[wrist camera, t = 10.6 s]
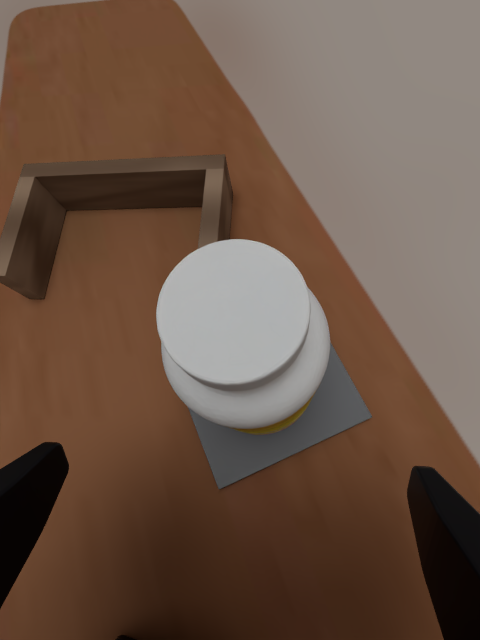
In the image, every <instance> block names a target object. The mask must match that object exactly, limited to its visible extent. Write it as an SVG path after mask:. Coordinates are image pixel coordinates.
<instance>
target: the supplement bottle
mask: <svg viewBox="0 0 480 640" xmlns="http://www.w3.org/2000/svg"><path fill="white" fill-rule="evenodd" d="M156 319H157V328H158V333H159V336H160V339H161V341H162V343H161V350H162V360H163V365H164V369H165V372H166V375H167V377H168V380H169V382H170V384H171V386H172V388H173V389H174V391H175V392H176V394H177V395H178V396H179V398H180V399H181V400H182V401H183V402H184V403H185V404H186V405H187V406H188V407H189V408H190V409H191V410H193V411H194V412H195V413H197V414H198V415H200V416H201V417H203V418H205V419H207V420H209V421H211V422H214V423H216V424H219V425H222V426H225V427H229V428H232V429H235V430H238V431H240V432H244V433H248V434H254V435H266V434H272V433H276V432H279V431H281V430H283V429H286V428H287V427H289V426H290V425H292V424H293V423H294V422H295V421H297V420H298V419H299V418H300V416H301V415H302V414H303V413H304V411H305V410H306V408H307V407H308V405H309V403H310V401H311V399H312V397H313V395H314V394H315V392H316V390H317V388H318V387H319V385H320V383H321V381H322V379H323V376H324V374H325V371H326V369H327V364H328V360H329V354H330V334H329V328H328V323H327V319H326V317H325V314H324V312H323V309H322V307H321V305H320V304H319V302H318V300H317V299H316V297H315V296H314V294H313V293H312V292H311V291H310V289H309V288H308V287H307V286H306V283H305V280H304V278H303V277H302V275H301V273H300V272H299V270H298V269H297V268H296V266H295V265H294V264H293V263H292V261H290V260H289V259H288V258H287V257H286V256H285V255H284V254H282V253H281V252H279V251H278V250H276V249H274V248H272V247H270V246H268V245H266V244H263V243H260V242H256V241H251V240H243V239H230V240H223V241H218V242H214V243H211V244H208V245H206V246H203V247H201V248H199V249H197V250H196V251H194V252H192V253H191V254H189V255H188V256H187V257H185V258H184V259H183V260H182V261H181V262H180V263H179V264H178V265H177V266H176V267H175V268H174V269H173V270H172V272H171V273H170V274H169V276H168V278H167V279H166V281H165V283H164V285H163V287H162V290H161V292H160V295H159V298H158V303H157V311H156Z"/></svg>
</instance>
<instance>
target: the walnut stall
mask: <svg viewBox="0 0 480 640" xmlns="http://www.w3.org/2000/svg"><path fill="white" fill-rule="evenodd" d="M232 199H233V191H232V186H231V181H230V176H229V172H228V167H227V162H226V157H225V154H224V155H203V156H182V157H161V158H140V159H119V160H98V161H77V162H57V163H36V164H24V165H23V168H22V171H21V174H20V178H19V181H18V184H17V187H16V190H15V194H14V197H13V200H12V203H11V206H10V209H9V213H8V216H7V219H6V222H5V225H4V229H3V232H2V235H1V238H0V283H2V284H4V285H6V286H7V287H9V288H11V289H13V290H15V291H16V292H18V293H20V294H22V295H23V296H25V297H27V298H29V299H44V297H45V293H46V289H47V285H48V281H49V277H50V273H51V269H52V265H53V261H54V258H55V254H56V250H57V246H58V242H59V238H60V234H61V230H62V226H63V222H64V218H65V214H66V210H97V209H132V208H167V207H202V214H201V224H200V233H199V242H198V249H199V248H201V247H203V246H206V245H208V244H211V243H214V242H218V241H223V240H229V239H230V225H231V212H232Z"/></svg>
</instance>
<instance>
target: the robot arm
mask: <svg viewBox="0 0 480 640" xmlns="http://www.w3.org/2000/svg"><path fill="white" fill-rule="evenodd" d="M68 470H69V464H68V461H67V458H66V455H65V452H64V450H63V447H62V445H61V444H60V443H57V442H44V443H42V444H40V445H39V446H37V447H35V448H34V449H32V450H31V451H29V452H27V453H26V454H24V455H22V456H21V457H19V458H18V459H16V460H14V461H13V462H11V463H10V464H8V465H6V466H5V467H3V468H2V469H0V608H1V606H2V605H3V603H4V601H5V599H6V597H7V595H8V594H9V592H10V590H11V588H12V586H13V584H14V583H15V581H16V579H17V577H18V575H19V573H20V572H21V570H22V568H23V566H24V564H25V562H26V561H27V559H28V557H29V555H30V553H31V551H32V549H33V548H34V546H35V544H36V542H37V540H38V538H39V536H40V534H41V533H42V531H43V528H44V526H45V524H46V522H47V520H48V518H49V515H50V513H51V511H52V508H53V506H54V504H55V501H56V499H57V497H58V495H59V492H60V490H61V488H62V485H63V483H64V481H65V478H66V476H67V474H68ZM407 498H408V504H409V508H410V513H411V518H412V523H413V528H414V533H415V537H416V542H417V547H418V552H419V557H420V561H421V566H422V570H423V574H424V577H425V581H426V584H427V587H428V590H429V594H430V597H431V600H432V603H433V606H434V609H435V613H436V616H437V619H438V622H439V625H440V628H441V632H442V635H443V638H444V640H480V514H479V513H478V512H477V511H476V510H475V509H474V508H473V507H472V506H471V505H470V504H469V503H468V502H467V501H466V500H465V499H464V498H463V497H462V496H461V495H460V494H459V493H458V492H457V491H456V490H455V489H454V488H453V487H452V486H451V485H450V484H449V483H448V482H447V481H446V480H445V479H444V478H443V477H442V476H441V475H440V474H439V473H438V472H437V471H436V470H435V469H433V468H432V467H426V466H414V467H413V468H412V471H411V475H410V480H409V484H408V489H407ZM115 640H135V639H133V638H130V637H127V636H125V635H121V636H118V637H117V638H116V639H115Z"/></svg>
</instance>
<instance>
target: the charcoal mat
mask: <svg viewBox="0 0 480 640" xmlns="http://www.w3.org/2000/svg"><path fill="white" fill-rule="evenodd" d="M188 408H189V407H188ZM189 411H190V414H191V416H192V419H193V422H194V424H195V427H196V430H197V432H198V435H199V438H200V440H201V443H202V446H203V448H204V451H205V454H206V456H207V459H208V462H209V465H210V467H211V470H212V473H213V475H214V478H215V481H216V483H217V486H218V489H221V488H223V487H225V486H227V485H230V484H232V483H234V482H236V481H238V480H240V479H242V478H244V477H246V476H249V475H251V474H253V473H255V472H257V471H259V470H261V469H263V468H265V467H268V466H270V465H272V464H274V463H276V462H278V461H280V460H282V459H285V458H287V457H289V456H291V455H293V454H295V453H297V452H299V451H301V450H304V449H306V448H308V447H310V446H312V445H314V444H316V443H318V442H320V441H323V440H325V439H327V438H329V437H331V436H333V435H335V434H337V433H340V432H342V431H344V430H346V429H348V428H350V427H352V426H354V425H356V424H359V423H361V422H363V421H365V420H367V419H369V418H371V417H372V416H371V414H370V412H369V410H368V409H367V407H366V405H365V403H364V401H363V400H362V398H361V396H360V394H359V392H358V391H357V389H356V387H355V385H354V384H353V382H352V380H351V378H350V376H349V375H348V373H347V371H346V369H345V368H344V366H343V364H342V362H341V360H340V359H339V357H338V355H337V353H336V351H335V350H334V348H333V346H332V344H331V343H330V354H329V360H328V364H327V369H326V371H325V374H324V376H323V379H322V381H321V383H320V385H319V387H318V388H317V390H316V392H315V394H314V395H313V397H312V399H311V401H310V403H309V405H308V407H307V408H306V410H305V411H304V413H303V414H302V415H301V416H300V418H299V419H298V420H297V421H295V422H294V423H293V424H292V425H290V426H289V427H287V428H286V429H283V430H281V431H279V432H276V433H272V434H266V435H254V434H248V433H244V432H240V431H238V430H235V429H232V428H229V427H225V426H222V425H219V424H216V423H214V422H211V421H209V420H207V419H205V418H203V417H201V416H200V415H198V414H197V413H195V412H194V411H193V410H191V409H190V408H189Z"/></svg>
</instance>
